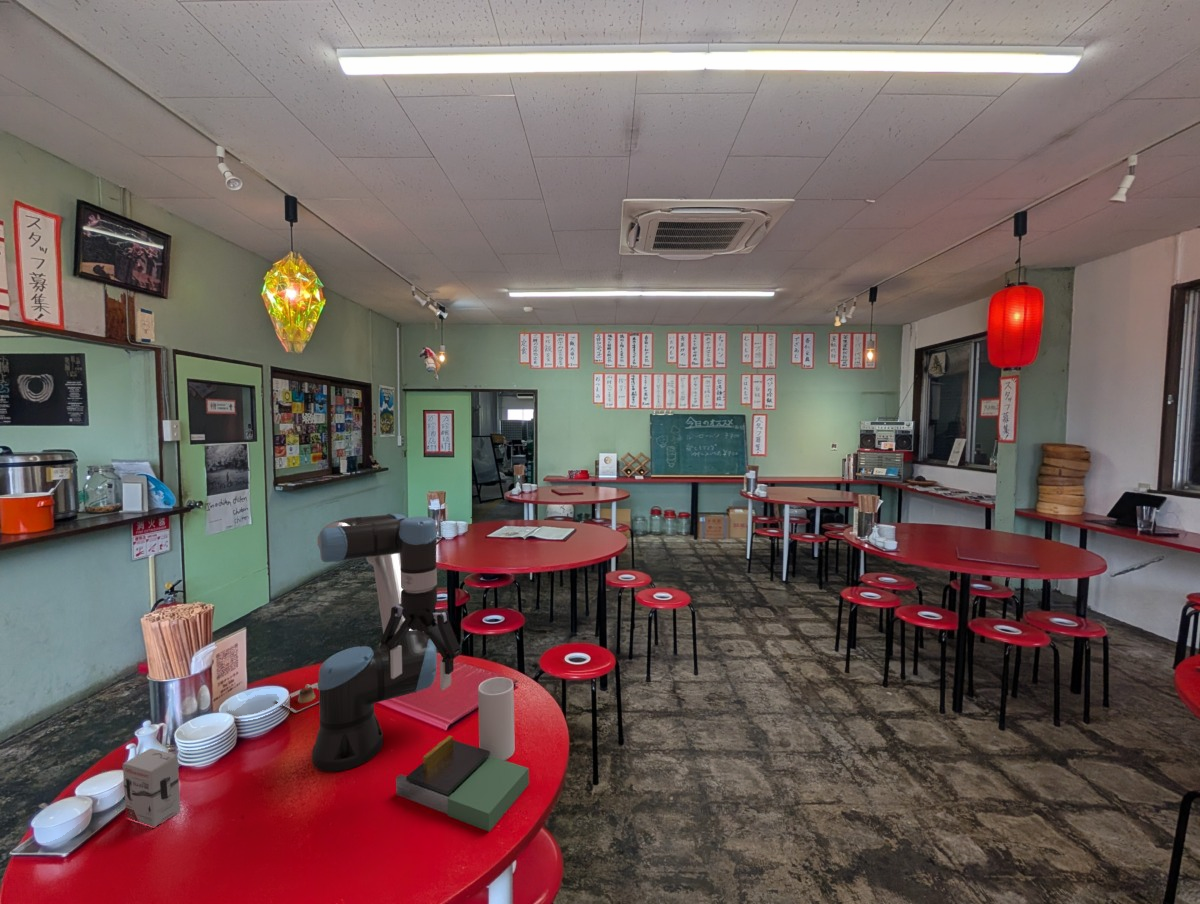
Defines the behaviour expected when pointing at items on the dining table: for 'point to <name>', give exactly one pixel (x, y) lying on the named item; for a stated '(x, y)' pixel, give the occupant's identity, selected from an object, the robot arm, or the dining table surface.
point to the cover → (447, 765)
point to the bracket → (424, 793)
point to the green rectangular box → (488, 793)
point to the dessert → (305, 695)
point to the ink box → (151, 787)
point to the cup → (496, 717)
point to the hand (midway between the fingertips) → (420, 681)
